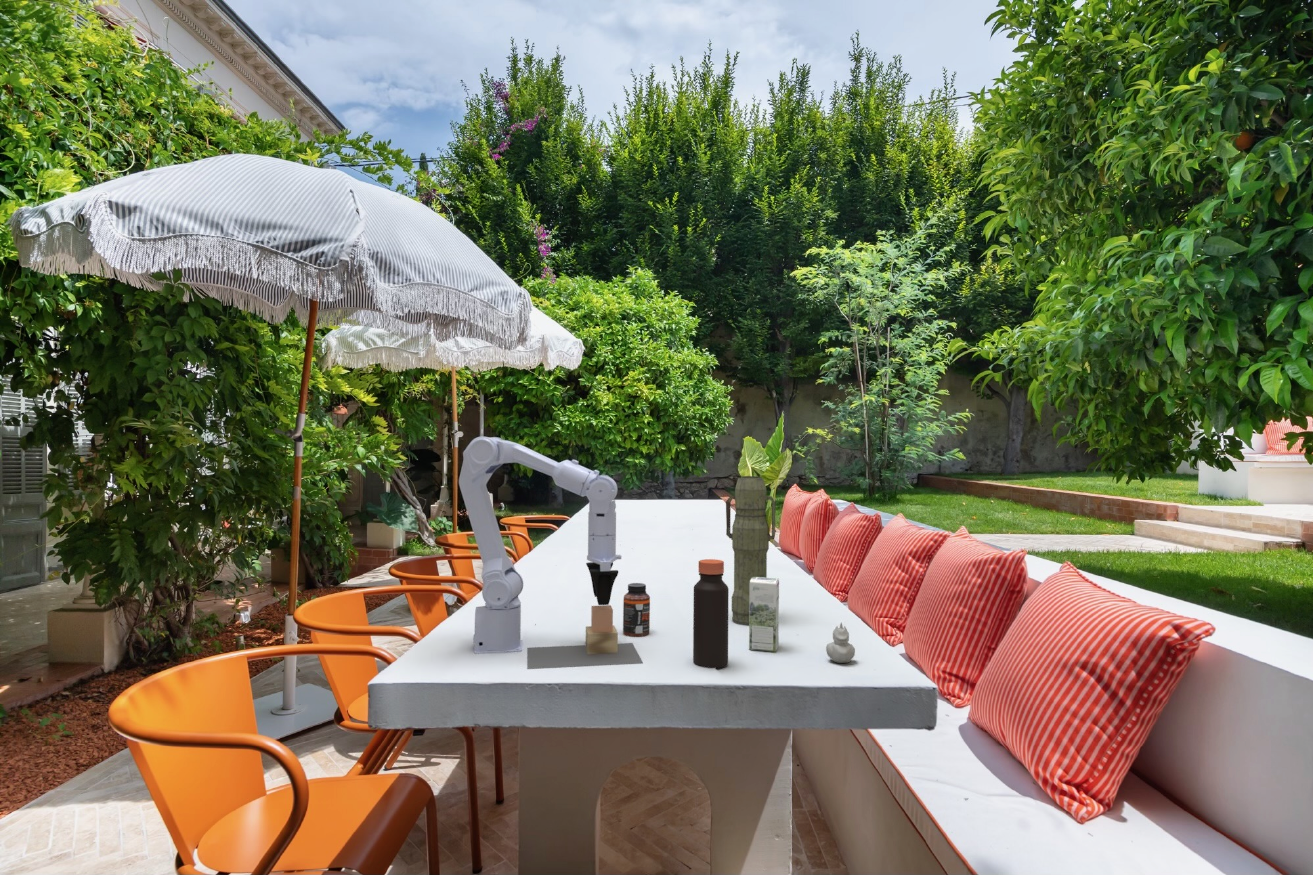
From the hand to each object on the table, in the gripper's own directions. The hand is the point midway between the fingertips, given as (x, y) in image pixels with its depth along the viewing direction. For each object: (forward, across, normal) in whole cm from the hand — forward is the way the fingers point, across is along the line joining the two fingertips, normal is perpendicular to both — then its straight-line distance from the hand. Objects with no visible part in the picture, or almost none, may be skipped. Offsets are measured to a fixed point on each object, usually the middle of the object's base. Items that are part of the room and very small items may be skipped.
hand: (601, 600), depth 145 cm
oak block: (+10, 0, 0) cm, 10 cm away
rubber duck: (+11, -14, -46) cm, 49 cm away
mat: (+10, -4, +4) cm, 12 cm away
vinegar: (+11, -12, -20) cm, 26 cm away
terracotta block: (+6, 0, 0) cm, 6 cm away
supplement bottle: (+11, +11, -9) cm, 18 cm away
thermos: (+11, +19, -38) cm, 44 cm away
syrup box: (+11, -3, -34) cm, 36 cm away
